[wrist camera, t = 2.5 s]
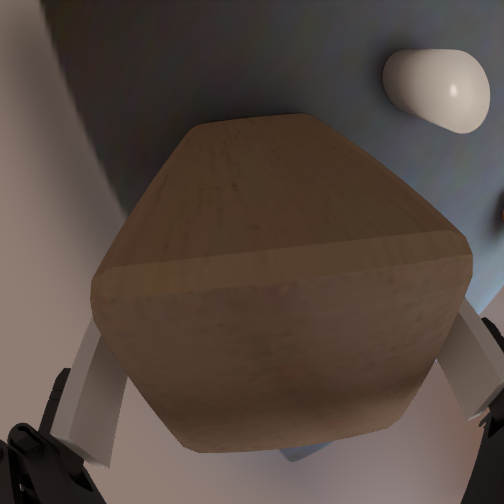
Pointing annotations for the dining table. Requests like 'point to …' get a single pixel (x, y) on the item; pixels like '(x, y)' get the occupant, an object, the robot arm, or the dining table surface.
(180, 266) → the block
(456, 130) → the white domed cylinder
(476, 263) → the dining table surface
